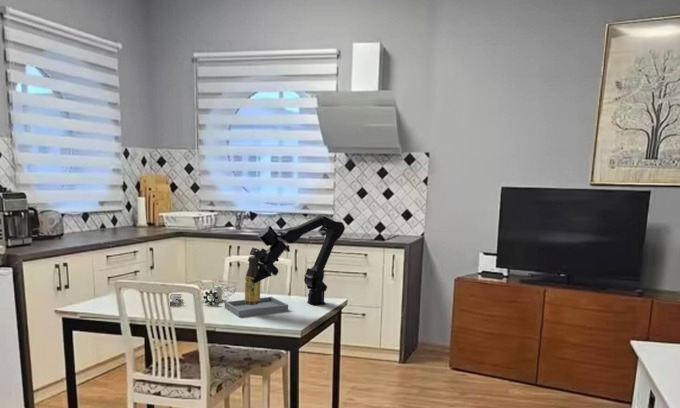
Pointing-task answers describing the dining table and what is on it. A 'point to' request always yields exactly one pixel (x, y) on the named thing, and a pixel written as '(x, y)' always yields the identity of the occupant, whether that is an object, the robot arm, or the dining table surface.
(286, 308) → the tray
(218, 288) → the valve
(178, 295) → the penguin figurine
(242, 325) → the dining table surface
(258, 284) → the sauce bottle
